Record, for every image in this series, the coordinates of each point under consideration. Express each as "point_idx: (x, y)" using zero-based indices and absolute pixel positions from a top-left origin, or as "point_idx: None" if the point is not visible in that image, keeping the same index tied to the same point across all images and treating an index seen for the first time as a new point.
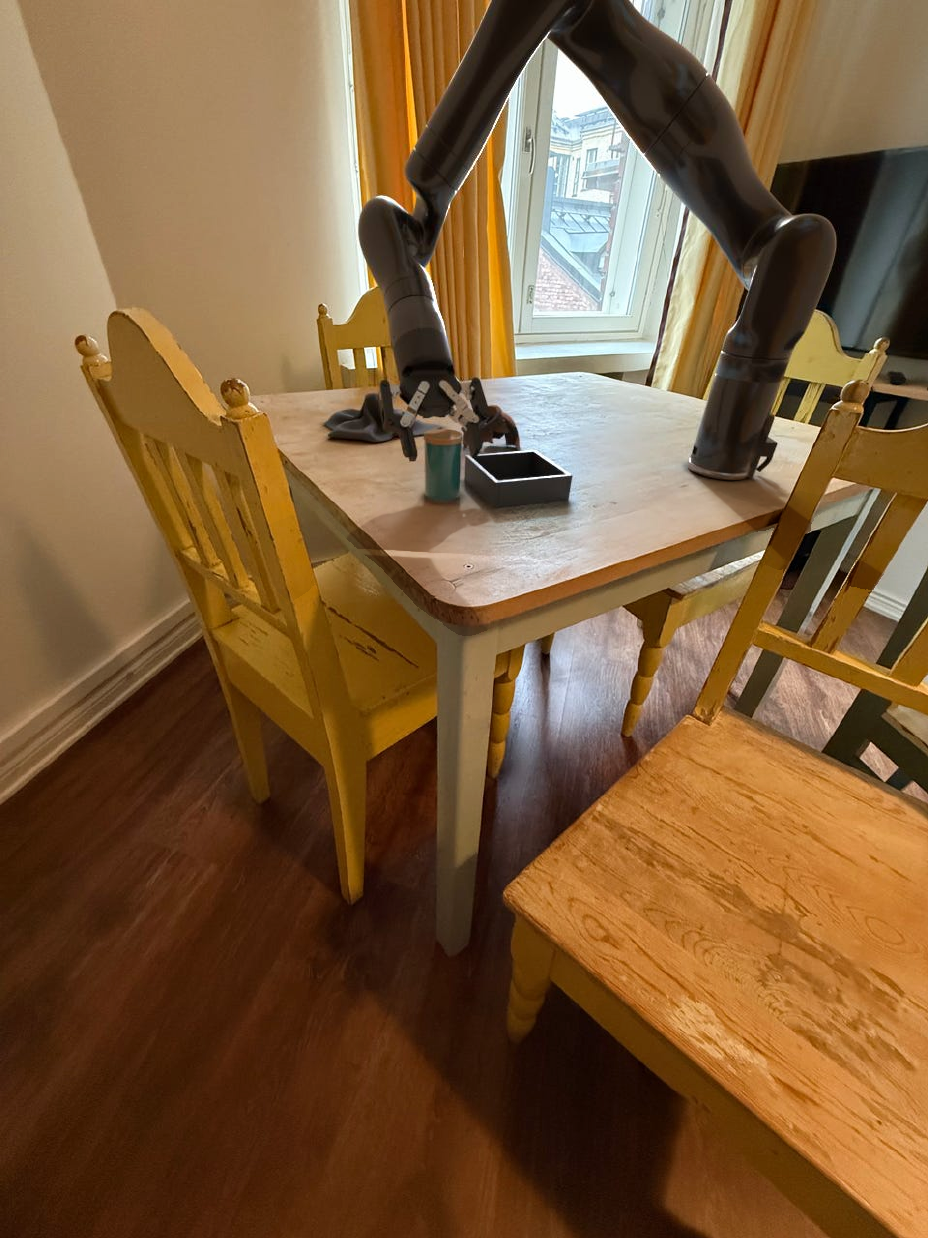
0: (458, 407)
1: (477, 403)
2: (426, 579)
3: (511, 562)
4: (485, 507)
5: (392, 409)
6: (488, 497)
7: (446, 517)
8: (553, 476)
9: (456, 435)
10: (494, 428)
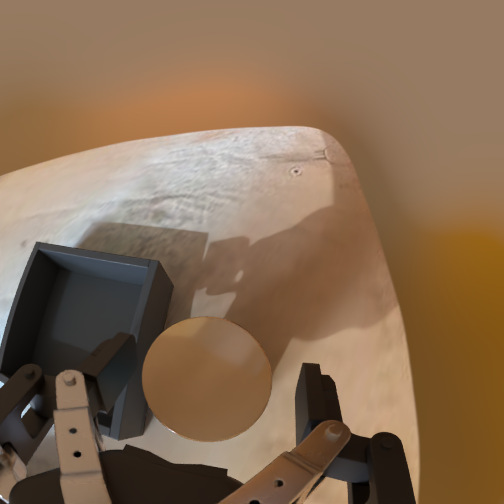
0: (91, 421)
1: (20, 411)
2: (348, 169)
3: (244, 162)
4: (173, 309)
5: (378, 474)
6: (163, 303)
7: (261, 299)
8: (58, 248)
9: (171, 347)
10: (4, 501)
